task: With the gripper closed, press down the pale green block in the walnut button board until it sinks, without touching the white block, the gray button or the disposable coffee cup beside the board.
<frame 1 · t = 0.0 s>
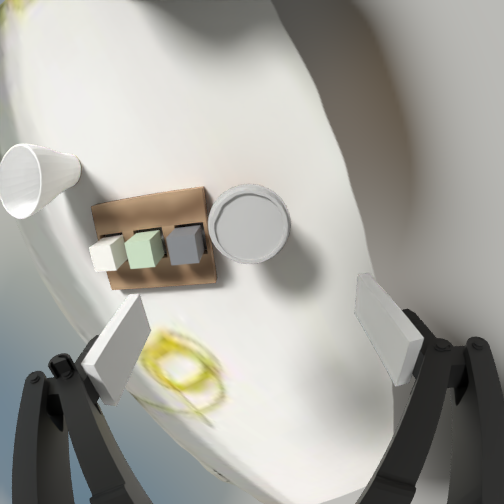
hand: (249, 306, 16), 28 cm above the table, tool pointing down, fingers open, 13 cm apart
button board: (153, 240, 44), on the table
pale green block: (145, 249, 40), point 4 cm above the table, slide at 0.0 cm
disposable coffee cup: (249, 207, 42), on the table
white block: (109, 253, 40), point 4 cm above the table, slide at 0.0 cm, touching button board
gray button: (186, 244, 40), point 4 cm above the table, slide at 0.0 cm, touching button board
cup: (68, 170, 39), on the table
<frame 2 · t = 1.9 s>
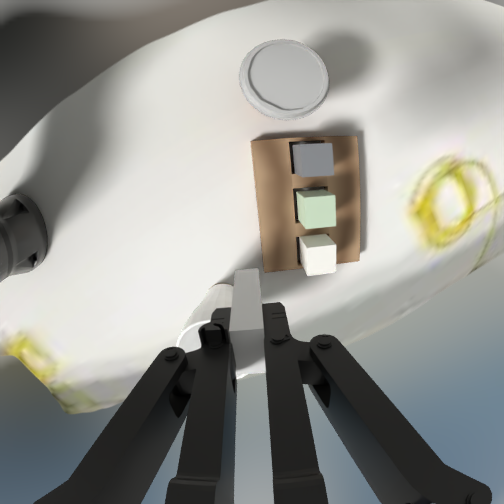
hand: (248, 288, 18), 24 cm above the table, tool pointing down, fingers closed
button board: (308, 202, 40), on the table
pale green block: (315, 208, 36), point 4 cm above the table, slide at 0.0 cm
disposable coffee cup: (273, 96, 35), on the table
white block: (317, 253, 39), point 4 cm above the table, slide at 0.0 cm, touching button board
gray button: (312, 159, 34), point 4 cm above the table, slide at 0.0 cm, touching button board
cup: (223, 299, 46), on the table
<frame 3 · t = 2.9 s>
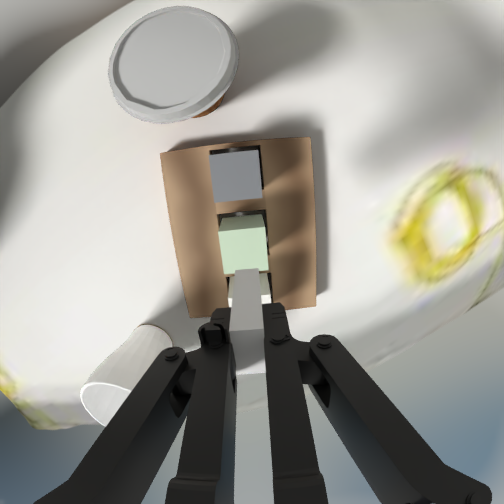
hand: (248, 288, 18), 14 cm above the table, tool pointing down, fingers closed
button board: (244, 229, 31), on the table
pale green block: (243, 242, 27), point 4 cm above the table, slide at 0.0 cm
disposable coffee cup: (195, 90, 26), on the table
white block: (250, 301, 29), point 4 cm above the table, slide at 0.0 cm, touching button board
gray button: (236, 173, 25), point 4 cm above the table, slide at 0.0 cm, touching button board
cup: (152, 340, 36), on the table
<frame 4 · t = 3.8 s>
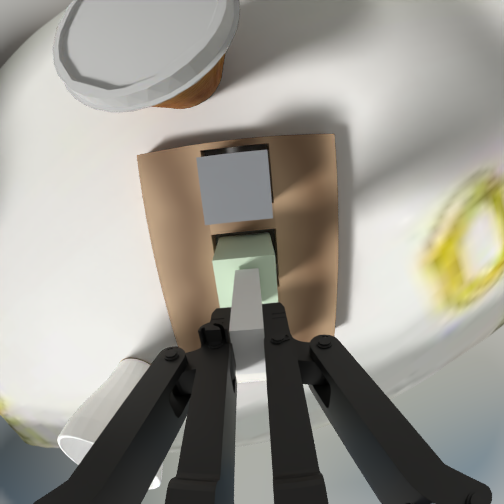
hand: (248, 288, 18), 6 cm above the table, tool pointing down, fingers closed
button board: (246, 252, 24), on the table
pale green block: (246, 270, 21), point 4 cm above the table, slide at -0.6 cm, touching gripper
disposable coffee cup: (184, 74, 19), on the table
white block: (254, 344, 23), point 4 cm above the table, slide at 0.0 cm, touching button board
gray button: (236, 182, 18), point 4 cm above the table, slide at 0.0 cm, touching button board
cup: (140, 375, 30), on the table
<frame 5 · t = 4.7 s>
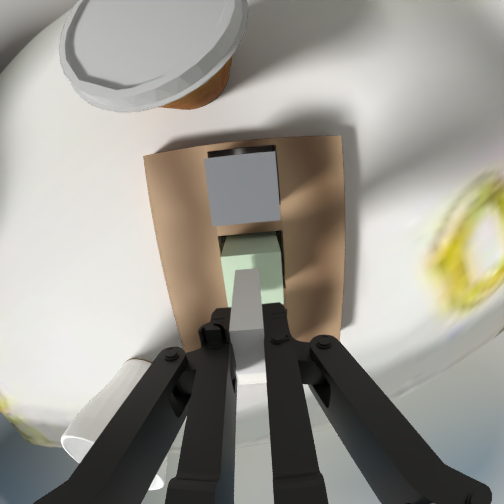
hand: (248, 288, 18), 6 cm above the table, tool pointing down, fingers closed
button board: (253, 254, 24), on the table
pale green block: (253, 267, 22), point 3 cm above the table, slide at -1.5 cm
disposable coffee cup: (191, 75, 19), on the table
white block: (260, 345, 22), point 4 cm above the table, slide at 0.0 cm, touching button board
gray button: (243, 184, 18), point 4 cm above the table, slide at 0.0 cm, touching button board
cup: (145, 375, 30), on the table
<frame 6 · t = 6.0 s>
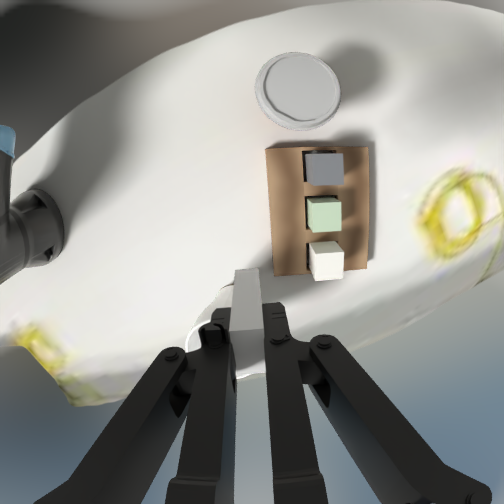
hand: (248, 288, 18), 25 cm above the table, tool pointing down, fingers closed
button board: (319, 209, 42), on the table
pale green block: (323, 213, 39), point 3 cm above the table, slide at -1.5 cm
disposable coffee cup: (288, 106, 37), on the table
white block: (325, 260, 40), point 4 cm above the table, slide at 0.0 cm, touching button board
gray button: (323, 168, 35), point 4 cm above the table, slide at 0.0 cm, touching button board
cup: (233, 300, 47), on the table
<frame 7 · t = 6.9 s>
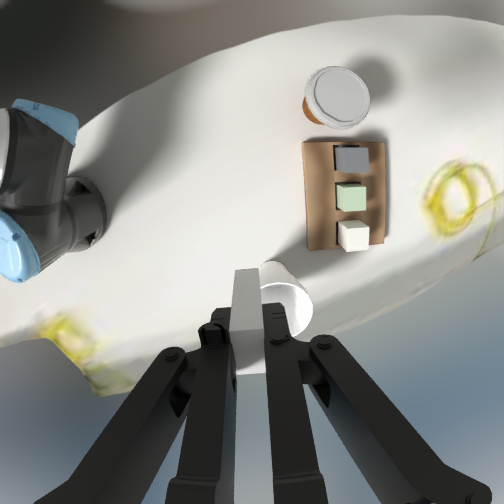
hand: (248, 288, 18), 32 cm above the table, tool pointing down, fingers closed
button board: (344, 194, 48), on the table
pale green block: (350, 196, 46), point 3 cm above the table, slide at -1.5 cm
disposable coffee cup: (319, 107, 43), on the table
white block: (353, 235, 46), point 4 cm above the table, slide at 0.0 cm, touching button board
gray button: (351, 159, 42), point 4 cm above the table, slide at 0.0 cm, touching button board
cup: (271, 274, 54), on the table
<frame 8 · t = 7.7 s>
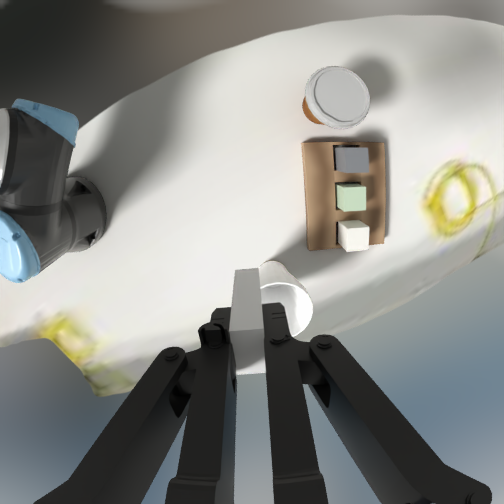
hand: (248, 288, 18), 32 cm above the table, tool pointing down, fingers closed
button board: (344, 194, 48), on the table
pale green block: (350, 196, 46), point 3 cm above the table, slide at -1.5 cm
disposable coffee cup: (319, 107, 43), on the table
white block: (353, 235, 46), point 4 cm above the table, slide at 0.0 cm, touching button board
gray button: (351, 159, 42), point 4 cm above the table, slide at 0.0 cm, touching button board
cup: (271, 274, 54), on the table
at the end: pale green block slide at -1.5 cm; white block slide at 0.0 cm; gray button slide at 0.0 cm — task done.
